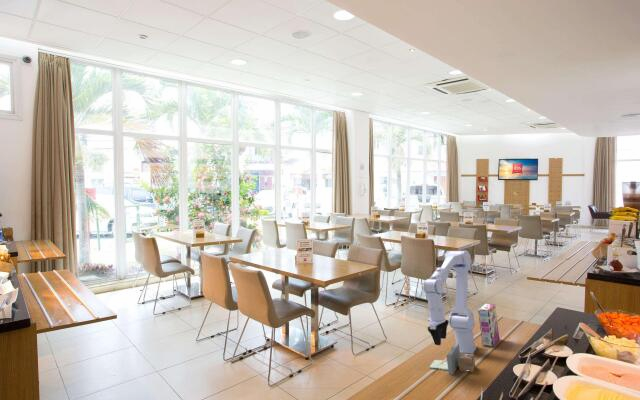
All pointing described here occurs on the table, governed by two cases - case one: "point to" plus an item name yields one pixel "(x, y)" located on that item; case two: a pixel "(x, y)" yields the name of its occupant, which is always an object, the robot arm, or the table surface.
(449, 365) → the slate screen
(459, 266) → the robot arm
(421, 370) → the table surface
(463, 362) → the walnut letter cube
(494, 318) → the candy bar box
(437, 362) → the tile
